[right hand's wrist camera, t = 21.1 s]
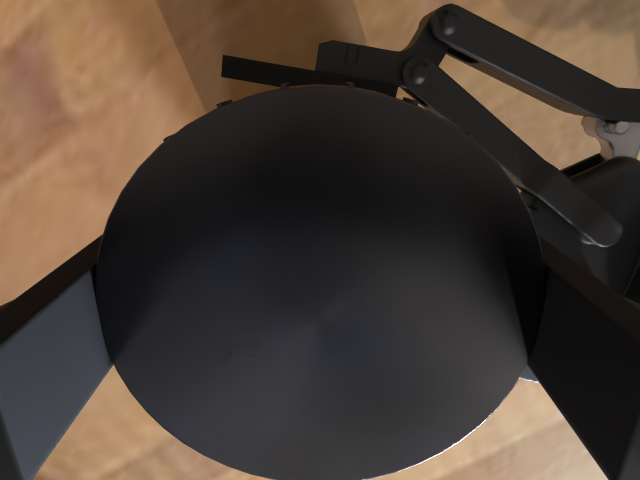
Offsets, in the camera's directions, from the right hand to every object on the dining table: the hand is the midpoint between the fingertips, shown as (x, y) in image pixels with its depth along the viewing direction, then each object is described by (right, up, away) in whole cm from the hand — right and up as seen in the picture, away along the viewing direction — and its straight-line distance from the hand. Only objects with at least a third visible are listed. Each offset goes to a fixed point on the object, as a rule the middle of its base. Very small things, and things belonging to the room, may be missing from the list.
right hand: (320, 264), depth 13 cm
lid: (0, -1, -3) cm, 3 cm away
